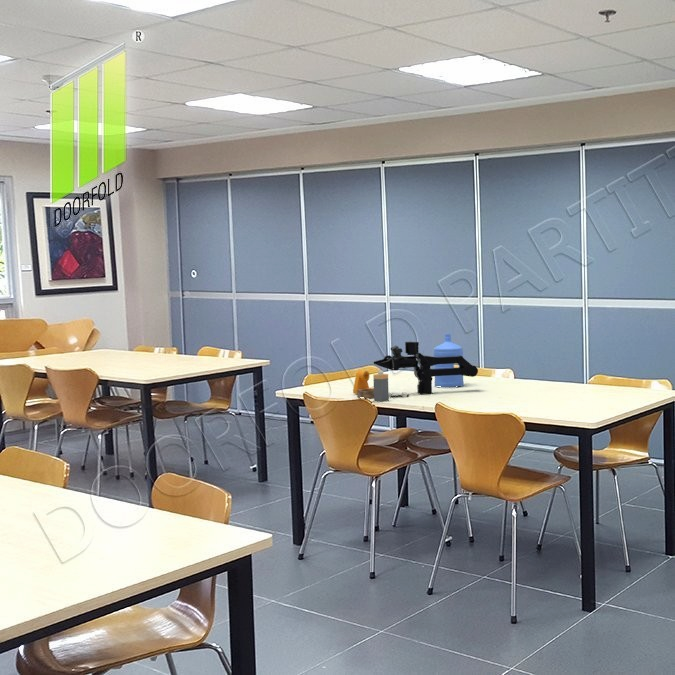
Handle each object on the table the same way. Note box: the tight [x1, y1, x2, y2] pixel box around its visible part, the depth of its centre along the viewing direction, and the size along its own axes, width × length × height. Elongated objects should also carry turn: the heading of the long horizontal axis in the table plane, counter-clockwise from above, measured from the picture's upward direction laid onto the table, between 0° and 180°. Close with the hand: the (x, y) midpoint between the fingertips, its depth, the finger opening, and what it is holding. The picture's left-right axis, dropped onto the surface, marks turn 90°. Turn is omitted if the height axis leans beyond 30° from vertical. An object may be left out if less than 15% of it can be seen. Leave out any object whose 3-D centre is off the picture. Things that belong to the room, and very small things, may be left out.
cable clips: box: [389, 392, 408, 398], centre depth 459 cm, size 10×4×2 cm, turn 86°
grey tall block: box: [372, 370, 390, 403], centre depth 446 cm, size 5×5×14 cm
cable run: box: [391, 394, 410, 398], centre depth 459 cm, size 15×2×1 cm, turn 83°
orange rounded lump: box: [352, 370, 374, 395], centre depth 475 cm, size 11×7×12 cm, turn 141°
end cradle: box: [356, 389, 374, 400], centre depth 460 cm, size 10×10×4 cm
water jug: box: [433, 333, 465, 388], centre depth 496 cm, size 16×16×28 cm
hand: (375, 363), depth 464 cm, fingers open, 9 cm apart
